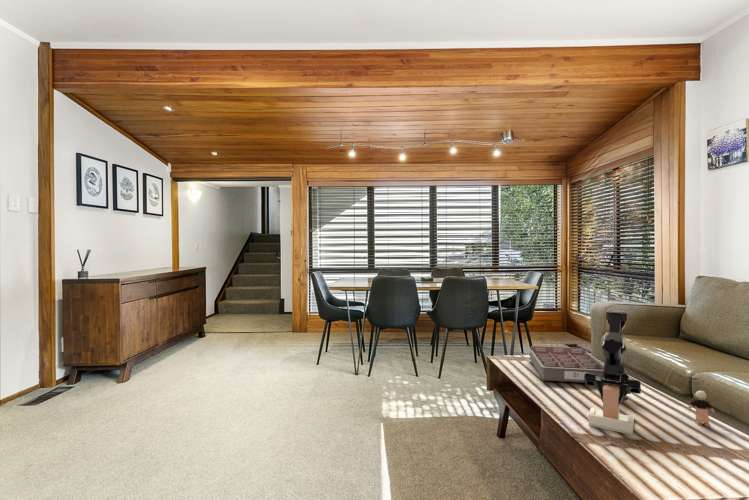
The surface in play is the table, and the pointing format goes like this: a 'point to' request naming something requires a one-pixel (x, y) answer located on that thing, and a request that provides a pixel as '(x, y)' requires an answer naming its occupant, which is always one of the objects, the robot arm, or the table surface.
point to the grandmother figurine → (701, 408)
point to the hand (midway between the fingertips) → (610, 403)
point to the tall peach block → (611, 401)
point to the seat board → (611, 422)
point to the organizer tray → (564, 363)
